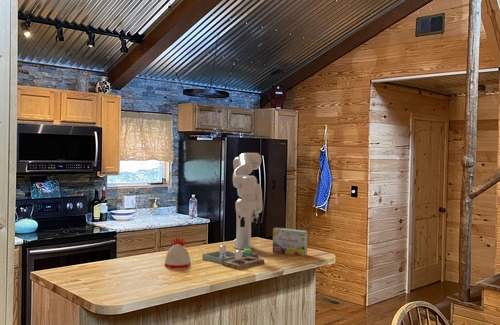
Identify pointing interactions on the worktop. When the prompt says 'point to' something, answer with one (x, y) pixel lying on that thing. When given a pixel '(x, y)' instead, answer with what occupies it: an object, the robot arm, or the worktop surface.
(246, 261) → the board
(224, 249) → the billet
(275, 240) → the snack box
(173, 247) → the kitchen timer
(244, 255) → the button console
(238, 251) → the cylinder
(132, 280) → the worktop surface
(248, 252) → the button
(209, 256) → the tote
